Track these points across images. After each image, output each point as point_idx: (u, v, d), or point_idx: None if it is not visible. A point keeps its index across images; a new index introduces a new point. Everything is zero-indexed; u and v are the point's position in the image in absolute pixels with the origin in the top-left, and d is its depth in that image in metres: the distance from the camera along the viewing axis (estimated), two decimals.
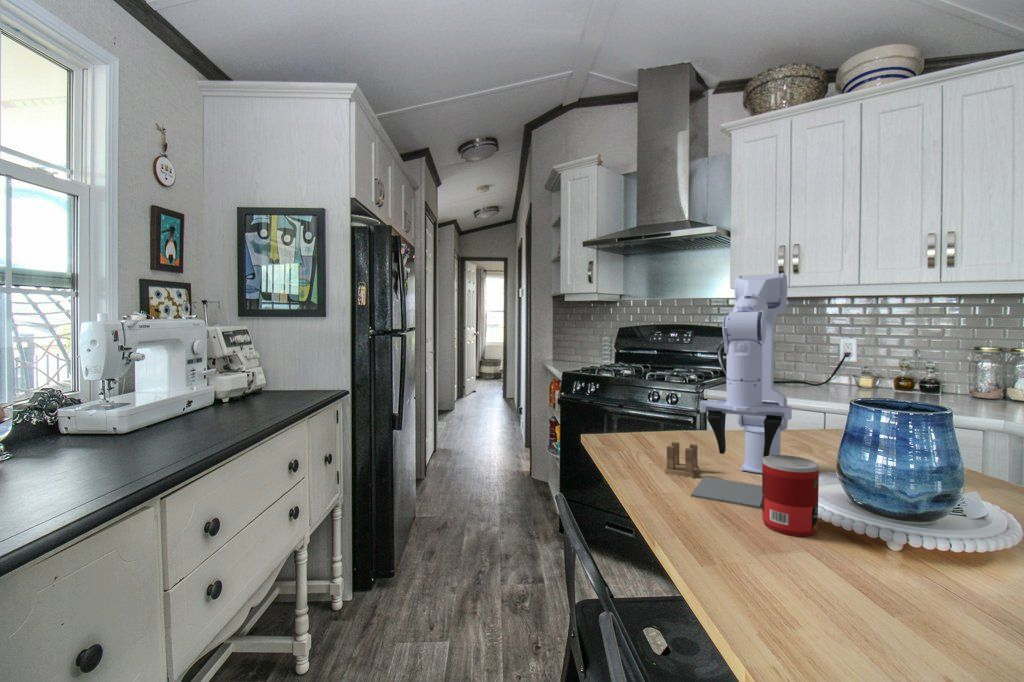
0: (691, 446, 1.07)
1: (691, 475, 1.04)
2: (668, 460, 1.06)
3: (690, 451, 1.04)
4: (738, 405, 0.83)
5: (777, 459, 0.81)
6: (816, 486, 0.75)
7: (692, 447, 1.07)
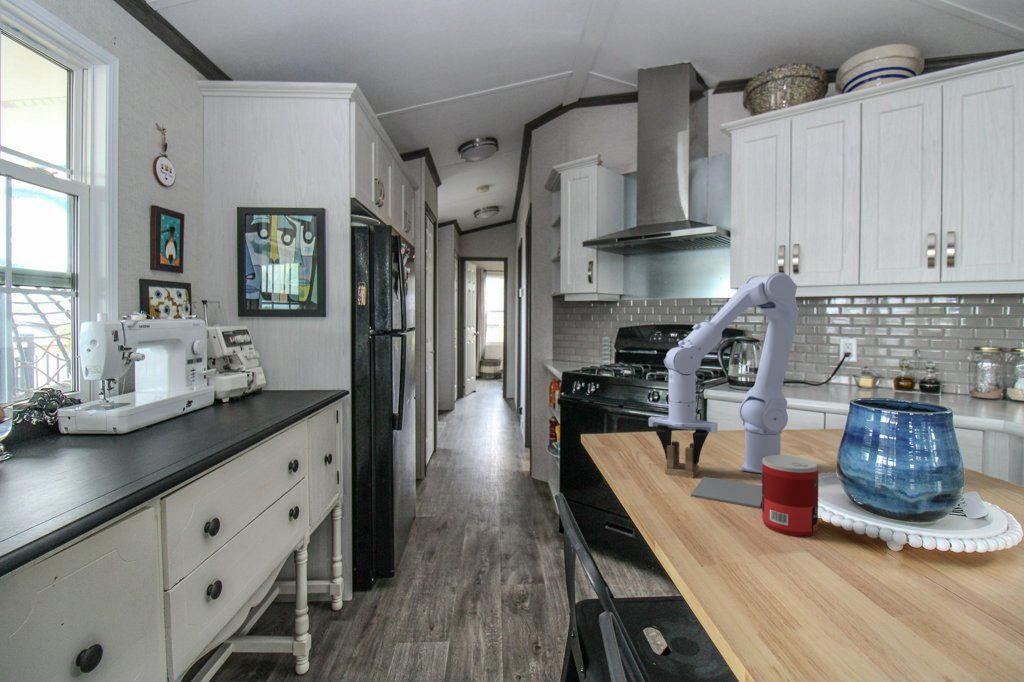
0: (691, 445, 1.07)
1: (691, 474, 1.04)
2: (668, 459, 1.06)
3: (690, 450, 1.04)
4: (676, 422, 1.05)
5: (777, 459, 0.81)
6: (816, 486, 0.75)
7: (692, 446, 1.07)
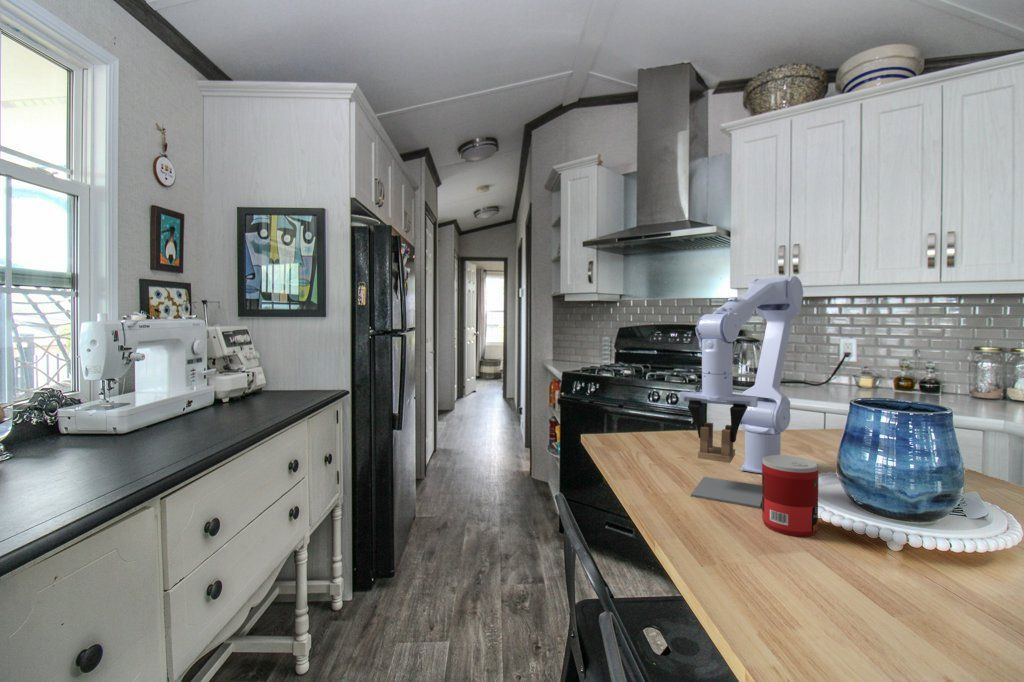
0: (727, 427, 0.97)
1: (728, 459, 0.94)
2: (702, 442, 0.97)
3: (727, 432, 0.94)
4: (711, 395, 0.95)
5: (777, 459, 0.81)
6: (816, 486, 0.75)
7: (728, 428, 0.97)
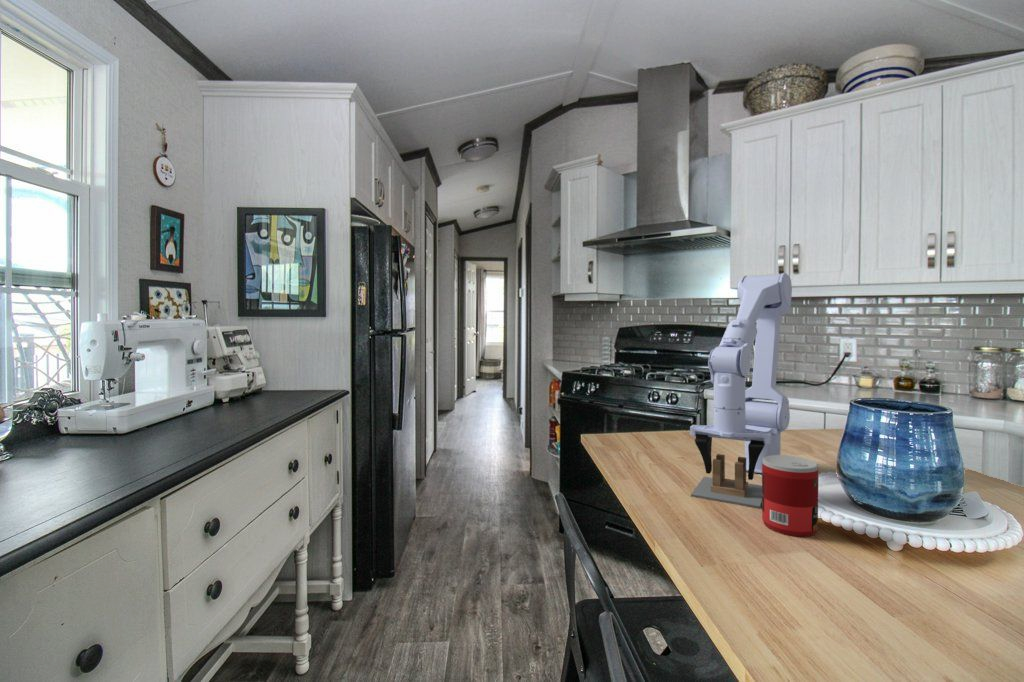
0: (740, 459, 0.95)
1: (742, 493, 0.91)
2: (714, 475, 0.94)
3: (741, 466, 0.91)
4: (724, 431, 0.92)
5: (777, 459, 0.81)
6: (816, 486, 0.75)
7: (741, 461, 0.95)
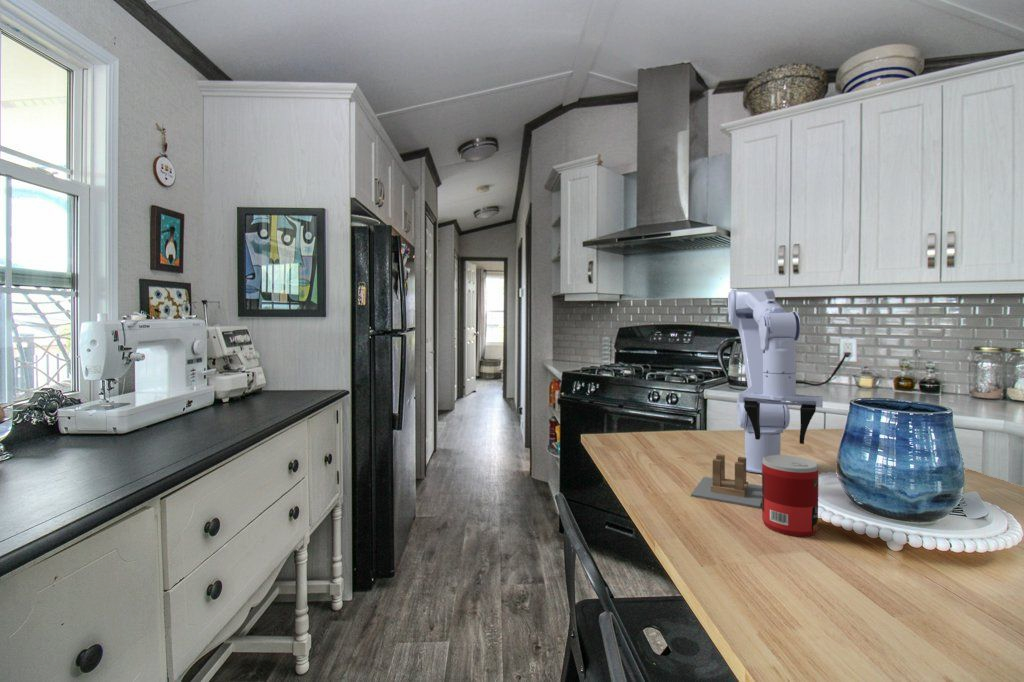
0: (740, 459, 0.95)
1: (742, 493, 0.91)
2: (714, 475, 0.94)
3: (741, 466, 0.91)
4: (775, 395, 0.93)
5: (777, 459, 0.81)
6: (816, 486, 0.75)
7: (741, 461, 0.95)
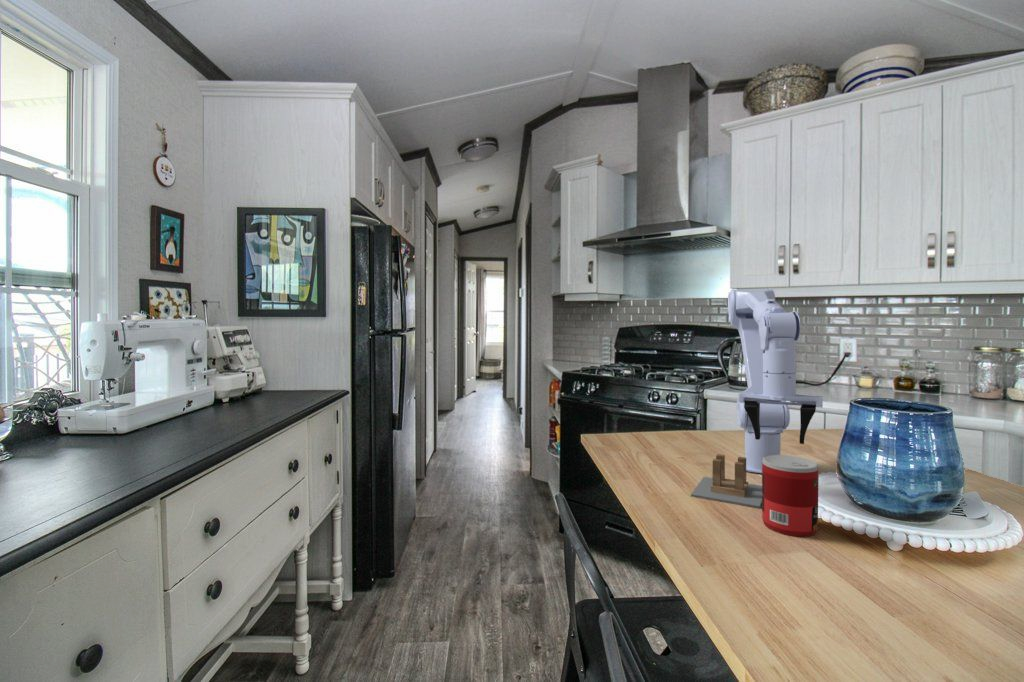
0: (740, 459, 0.95)
1: (742, 493, 0.91)
2: (714, 475, 0.94)
3: (741, 466, 0.91)
4: (775, 395, 0.93)
5: (777, 459, 0.81)
6: (816, 486, 0.75)
7: (741, 461, 0.95)
